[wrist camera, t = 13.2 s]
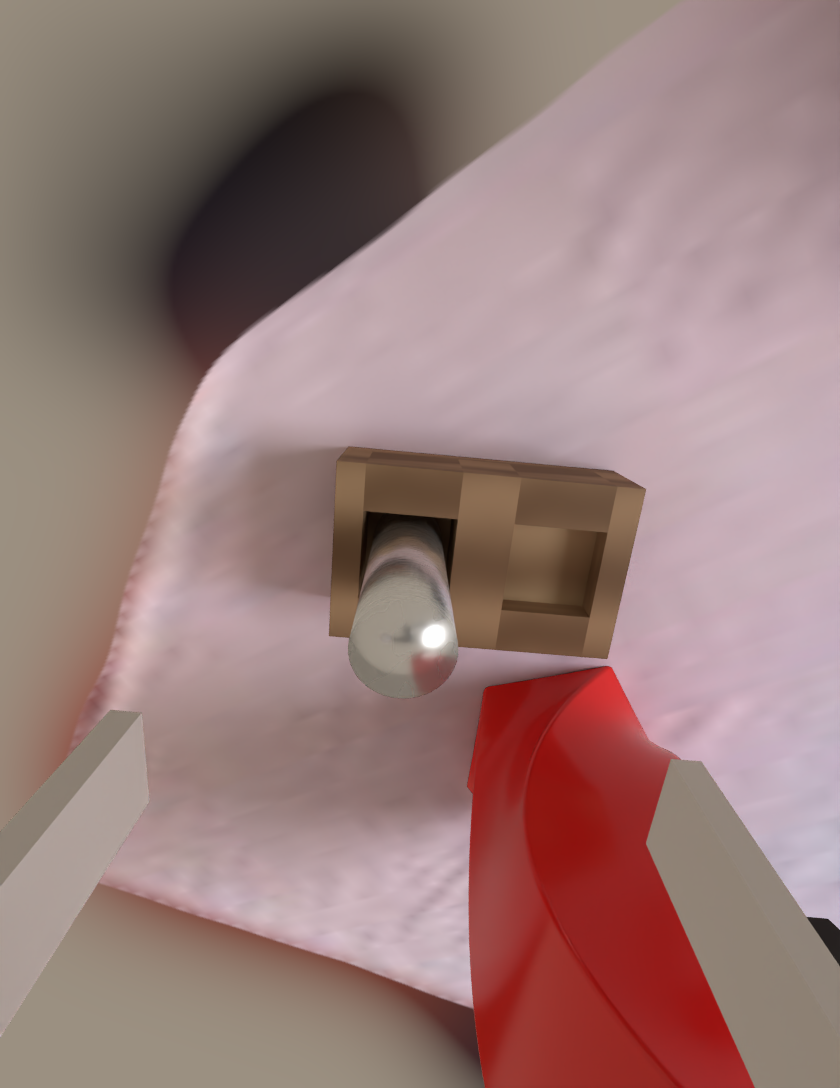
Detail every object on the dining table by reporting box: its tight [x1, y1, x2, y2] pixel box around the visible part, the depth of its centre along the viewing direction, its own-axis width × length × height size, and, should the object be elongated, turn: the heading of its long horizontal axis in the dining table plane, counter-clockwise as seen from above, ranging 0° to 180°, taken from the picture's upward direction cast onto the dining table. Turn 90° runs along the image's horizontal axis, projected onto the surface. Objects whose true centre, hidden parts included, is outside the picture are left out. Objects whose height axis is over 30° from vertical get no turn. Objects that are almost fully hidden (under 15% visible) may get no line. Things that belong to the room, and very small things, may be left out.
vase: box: [467, 666, 755, 1088], centre depth 26 cm, size 15×14×28 cm
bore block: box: [329, 447, 646, 659], centre depth 32 cm, size 10×16×5 cm, turn 85°
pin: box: [348, 513, 458, 698], centre depth 26 cm, size 4×4×14 cm
